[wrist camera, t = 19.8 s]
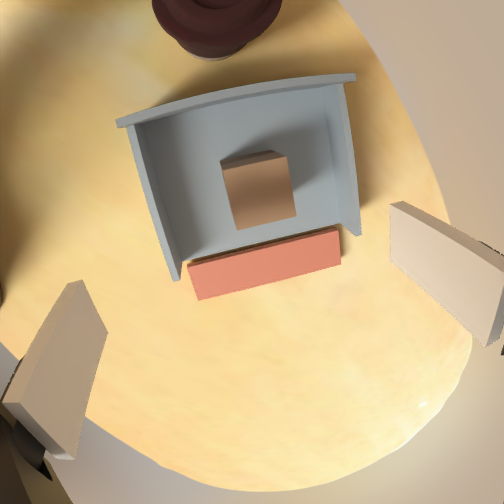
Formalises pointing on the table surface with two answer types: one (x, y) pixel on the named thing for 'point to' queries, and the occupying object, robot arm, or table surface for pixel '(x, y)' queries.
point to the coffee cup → (215, 24)
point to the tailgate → (265, 264)
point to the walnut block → (258, 188)
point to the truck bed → (239, 144)
